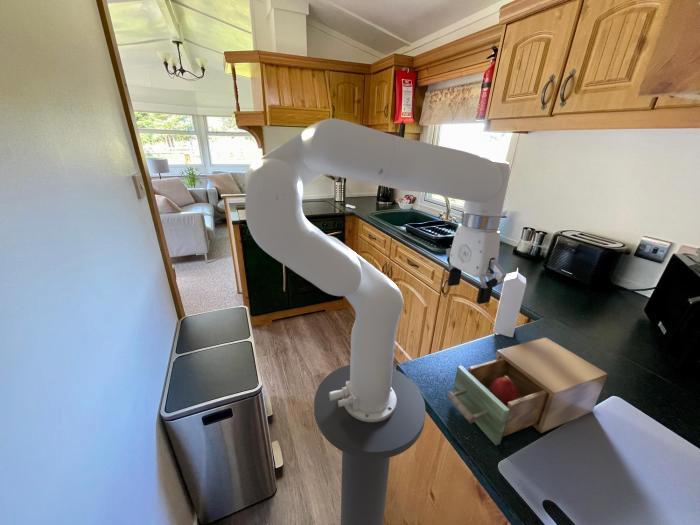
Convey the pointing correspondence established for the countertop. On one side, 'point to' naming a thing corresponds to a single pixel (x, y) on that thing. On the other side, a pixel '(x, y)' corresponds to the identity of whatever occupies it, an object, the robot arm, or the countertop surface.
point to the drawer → (489, 410)
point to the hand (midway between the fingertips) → (467, 293)
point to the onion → (504, 390)
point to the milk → (509, 304)
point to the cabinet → (557, 379)
